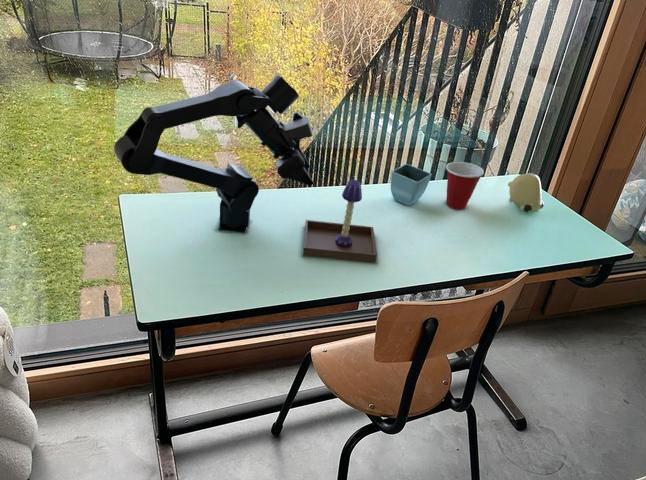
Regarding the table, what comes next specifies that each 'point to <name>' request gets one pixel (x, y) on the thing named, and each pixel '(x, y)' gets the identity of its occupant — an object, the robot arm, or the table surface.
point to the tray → (324, 246)
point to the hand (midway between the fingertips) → (310, 175)
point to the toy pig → (526, 193)
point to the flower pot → (408, 183)
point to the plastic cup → (461, 183)
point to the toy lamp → (349, 210)
